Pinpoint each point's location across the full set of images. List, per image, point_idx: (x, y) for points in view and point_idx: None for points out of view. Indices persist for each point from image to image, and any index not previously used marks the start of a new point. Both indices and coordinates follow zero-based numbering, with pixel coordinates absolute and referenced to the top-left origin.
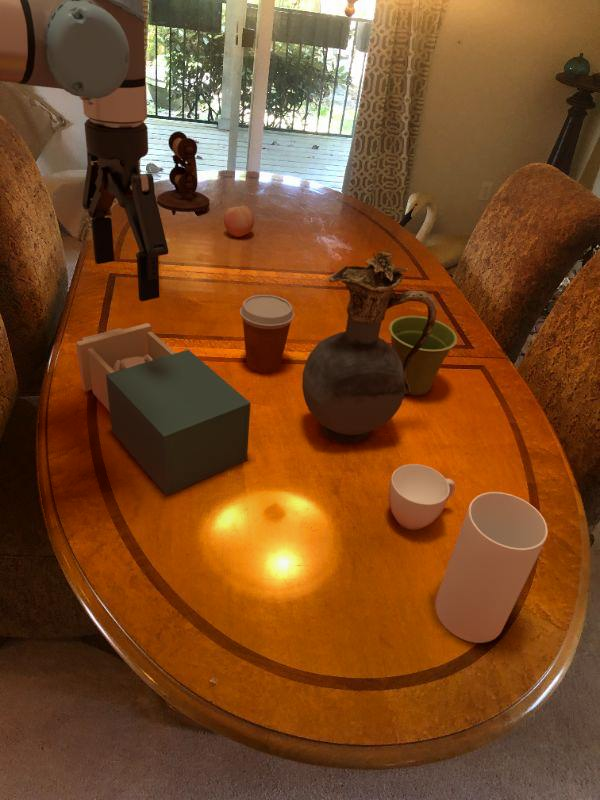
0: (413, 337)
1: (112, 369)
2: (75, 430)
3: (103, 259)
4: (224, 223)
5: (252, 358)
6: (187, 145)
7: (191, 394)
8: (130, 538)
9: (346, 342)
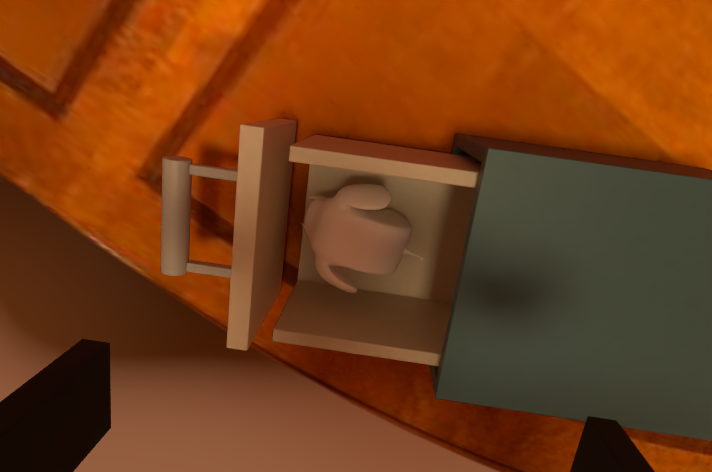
0: None
1: (399, 349)
2: (370, 356)
3: (97, 410)
4: None
5: None
6: None
7: (676, 297)
8: (660, 434)
9: None
